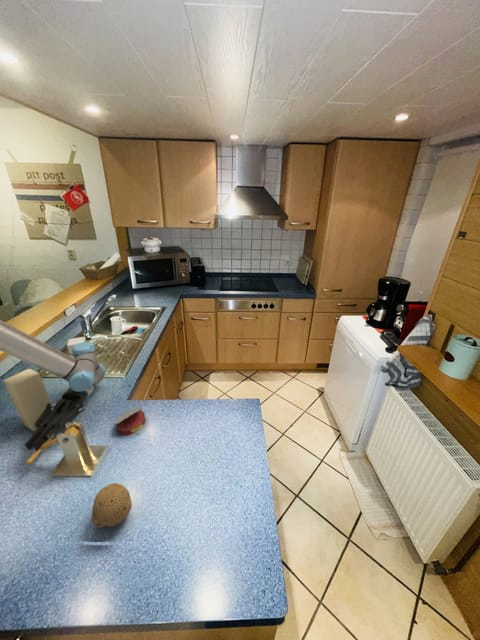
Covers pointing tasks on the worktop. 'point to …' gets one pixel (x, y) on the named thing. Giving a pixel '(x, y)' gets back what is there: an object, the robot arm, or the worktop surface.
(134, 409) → the canned food
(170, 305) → the worktop surface
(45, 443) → the lever
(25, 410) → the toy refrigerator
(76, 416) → the robot arm
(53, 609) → the worktop surface
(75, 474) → the bracket
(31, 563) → the worktop surface
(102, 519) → the natural sponge
